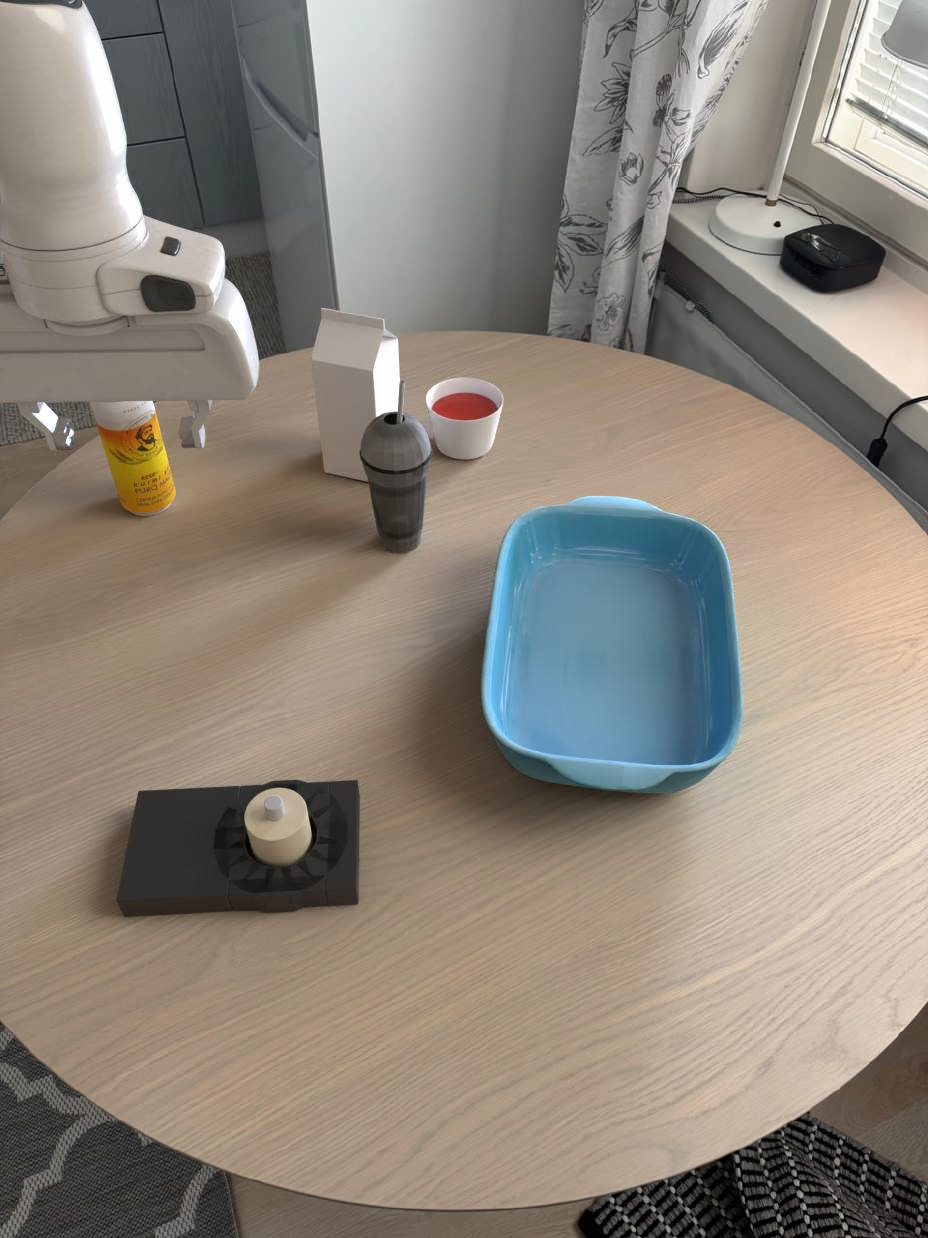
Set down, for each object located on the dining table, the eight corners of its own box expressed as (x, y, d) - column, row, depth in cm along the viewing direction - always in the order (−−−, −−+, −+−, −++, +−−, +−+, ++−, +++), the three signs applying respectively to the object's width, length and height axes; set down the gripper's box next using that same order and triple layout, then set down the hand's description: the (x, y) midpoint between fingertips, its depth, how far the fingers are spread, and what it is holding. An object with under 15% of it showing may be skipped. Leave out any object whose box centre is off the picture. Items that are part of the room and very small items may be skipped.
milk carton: (380, 485, 114) (370, 335, 100) (324, 473, 116) (306, 324, 102) (403, 451, 119) (396, 303, 105) (348, 439, 120) (334, 292, 107)
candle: (412, 449, 119) (410, 403, 114) (455, 413, 124) (455, 369, 120) (474, 475, 115) (474, 430, 111) (516, 438, 121) (518, 393, 116)
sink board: (123, 921, 76) (115, 905, 74) (145, 804, 84) (138, 787, 82) (358, 908, 77) (356, 892, 75) (360, 793, 85) (357, 776, 83)
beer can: (149, 525, 109) (115, 409, 98) (110, 506, 111) (73, 390, 100) (188, 496, 112) (160, 381, 102) (150, 478, 115) (118, 363, 104)
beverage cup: (394, 509, 111) (385, 348, 97) (447, 534, 108) (446, 372, 94) (352, 544, 107) (337, 382, 93) (406, 571, 104) (398, 408, 90)
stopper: (252, 879, 79) (238, 831, 74) (257, 827, 82) (244, 777, 77) (312, 876, 79) (303, 828, 74) (315, 824, 82) (306, 775, 77)
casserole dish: (504, 534, 108) (506, 482, 103) (712, 551, 106) (725, 498, 101) (465, 823, 83) (465, 772, 77) (738, 851, 81) (757, 801, 76)
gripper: (-106, 289, 60) (-29, 473, 70) (235, 286, 61) (264, 468, 71) (-72, 242, 65) (-4, 421, 75) (246, 240, 66) (271, 418, 76)
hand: (129, 444), depth 73 cm, fingers open, 8 cm apart
